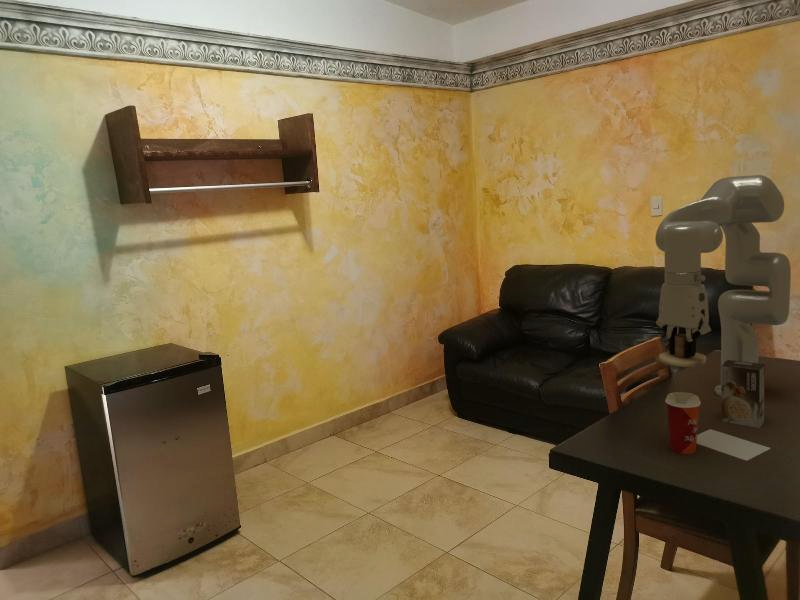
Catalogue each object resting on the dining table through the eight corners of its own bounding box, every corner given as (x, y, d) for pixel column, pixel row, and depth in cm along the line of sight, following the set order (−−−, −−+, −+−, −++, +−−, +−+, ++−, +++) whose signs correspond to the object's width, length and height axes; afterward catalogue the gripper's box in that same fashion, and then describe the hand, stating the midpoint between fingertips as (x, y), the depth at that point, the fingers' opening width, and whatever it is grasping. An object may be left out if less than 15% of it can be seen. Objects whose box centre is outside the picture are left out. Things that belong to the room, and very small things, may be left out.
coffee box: (765, 422, 154) (766, 363, 151) (759, 430, 149) (761, 370, 146) (726, 415, 160) (727, 359, 157) (720, 423, 155) (720, 365, 152)
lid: (676, 352, 144) (676, 328, 143) (715, 360, 136) (715, 335, 135) (650, 360, 140) (649, 336, 139) (688, 369, 131) (688, 343, 130)
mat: (710, 431, 151) (710, 429, 151) (770, 450, 138) (770, 448, 138) (686, 442, 146) (686, 439, 146) (746, 463, 133) (746, 460, 133)
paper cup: (698, 460, 136) (699, 403, 134) (663, 455, 140) (662, 400, 138) (702, 447, 143) (702, 392, 140) (667, 442, 147) (667, 389, 144)
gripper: (726, 279, 129) (725, 358, 132) (661, 273, 143) (661, 345, 146) (706, 284, 125) (705, 365, 129) (641, 278, 140) (642, 351, 143)
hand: (682, 354), depth 138 cm, fingers closed on lid, 3 cm apart
